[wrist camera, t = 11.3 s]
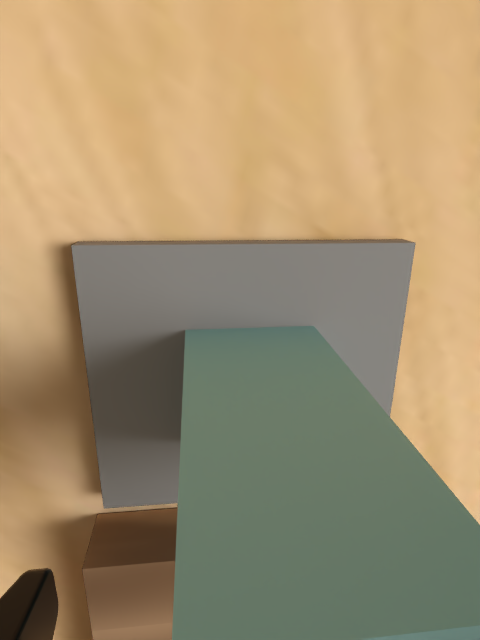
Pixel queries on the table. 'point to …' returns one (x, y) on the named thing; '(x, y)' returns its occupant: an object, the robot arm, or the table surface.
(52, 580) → the robot arm
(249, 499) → the peg
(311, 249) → the pad
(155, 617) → the pocket
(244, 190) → the table surface
